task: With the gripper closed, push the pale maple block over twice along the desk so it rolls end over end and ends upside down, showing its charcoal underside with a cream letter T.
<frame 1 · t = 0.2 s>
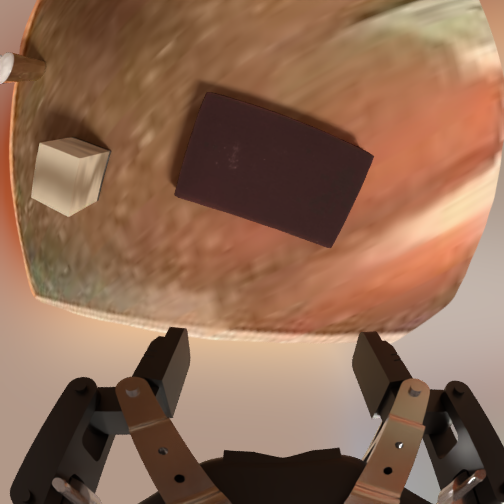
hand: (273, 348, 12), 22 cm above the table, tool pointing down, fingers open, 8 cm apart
maple block: (84, 168, 30), on the table
milkshake: (39, 68, 23), on the table
book: (272, 167, 30), on the table
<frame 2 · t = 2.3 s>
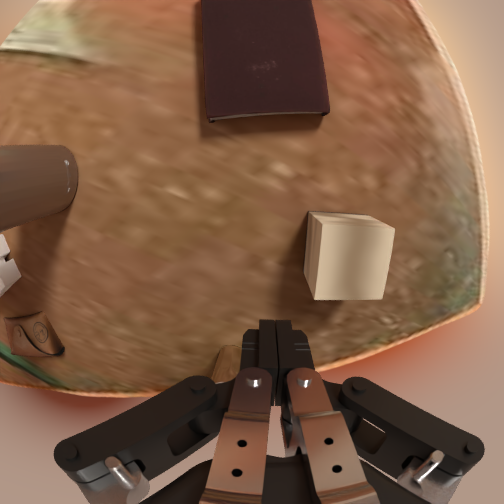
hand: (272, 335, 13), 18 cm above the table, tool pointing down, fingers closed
sunglasses case: (32, 331, 37), on the table
maple block: (335, 243, 30), on the table
milkshake: (229, 354, 35), on the table
book: (260, 44, 24), on the table
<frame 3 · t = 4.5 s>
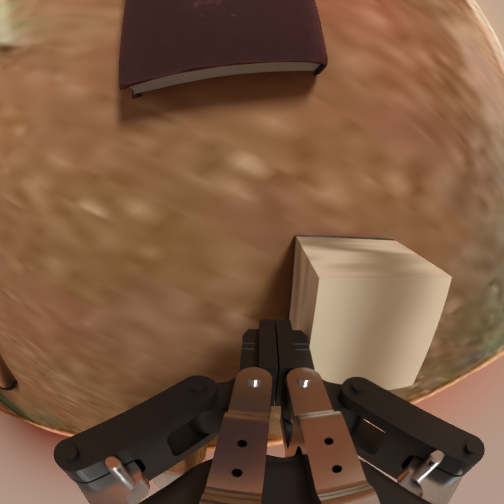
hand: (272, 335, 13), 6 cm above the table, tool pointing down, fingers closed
maple block: (340, 286, 18), on the table, touching gripper
milkshake: (191, 419, 23), on the table
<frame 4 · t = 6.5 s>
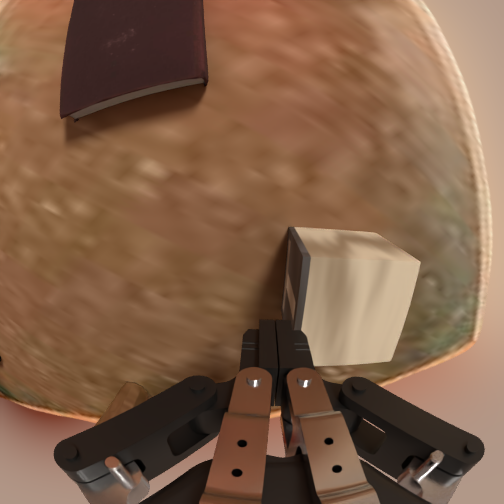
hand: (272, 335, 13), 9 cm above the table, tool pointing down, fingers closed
maple block: (289, 290, 18), point 3 cm above the table, tilted 90°
milkshake: (134, 391, 26), on the table
book: (139, 15, 15), on the table
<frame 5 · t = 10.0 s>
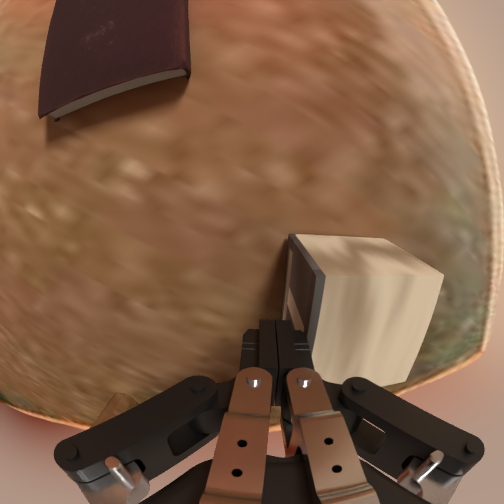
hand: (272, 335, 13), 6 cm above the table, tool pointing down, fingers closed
maple block: (293, 309, 15), point 4 cm above the table, tilted 94°, touching gripper
milkshake: (125, 402, 24), on the table
book: (123, 8, 13), on the table
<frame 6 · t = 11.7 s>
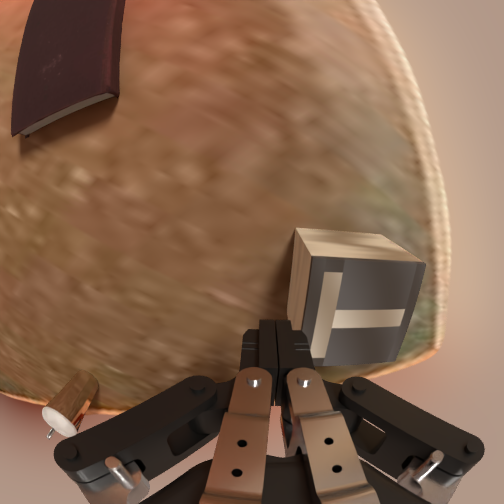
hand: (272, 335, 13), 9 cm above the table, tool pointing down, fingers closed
maple block: (362, 319, 14), point 7 cm above the table, tilted 180°
milkshake: (87, 379, 26), on the table
book: (76, 37, 15), on the table
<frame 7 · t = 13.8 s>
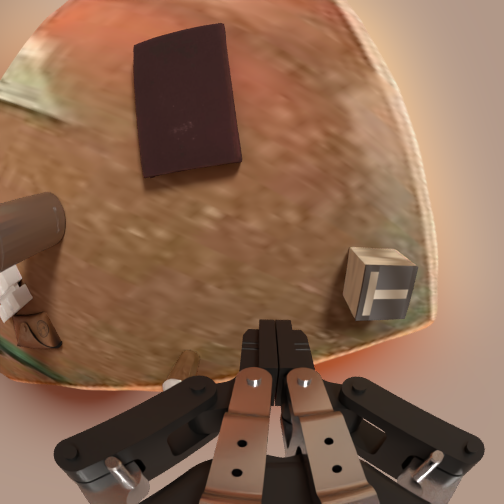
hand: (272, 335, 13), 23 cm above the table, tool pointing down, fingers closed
sunglasses case: (36, 327, 45), on the table
maple block: (387, 294, 29), point 7 cm above the table, tilted 180°
milkshake: (189, 357, 42), on the table
book: (187, 100, 30), on the table
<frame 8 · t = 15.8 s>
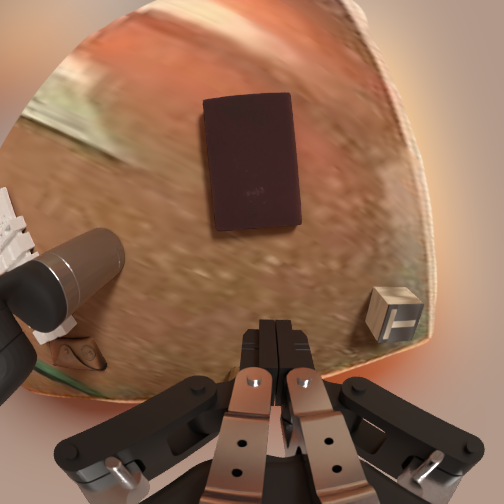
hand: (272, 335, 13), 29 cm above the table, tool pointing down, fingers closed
sunglasses case: (75, 348, 51), on the table
organizer: (27, 263, 45), on the table
maple block: (401, 324, 38), point 7 cm above the table, tilted 180°
milkshake: (237, 372, 50), on the table
book: (252, 161, 39), on the table
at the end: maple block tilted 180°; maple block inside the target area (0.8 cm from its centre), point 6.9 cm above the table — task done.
